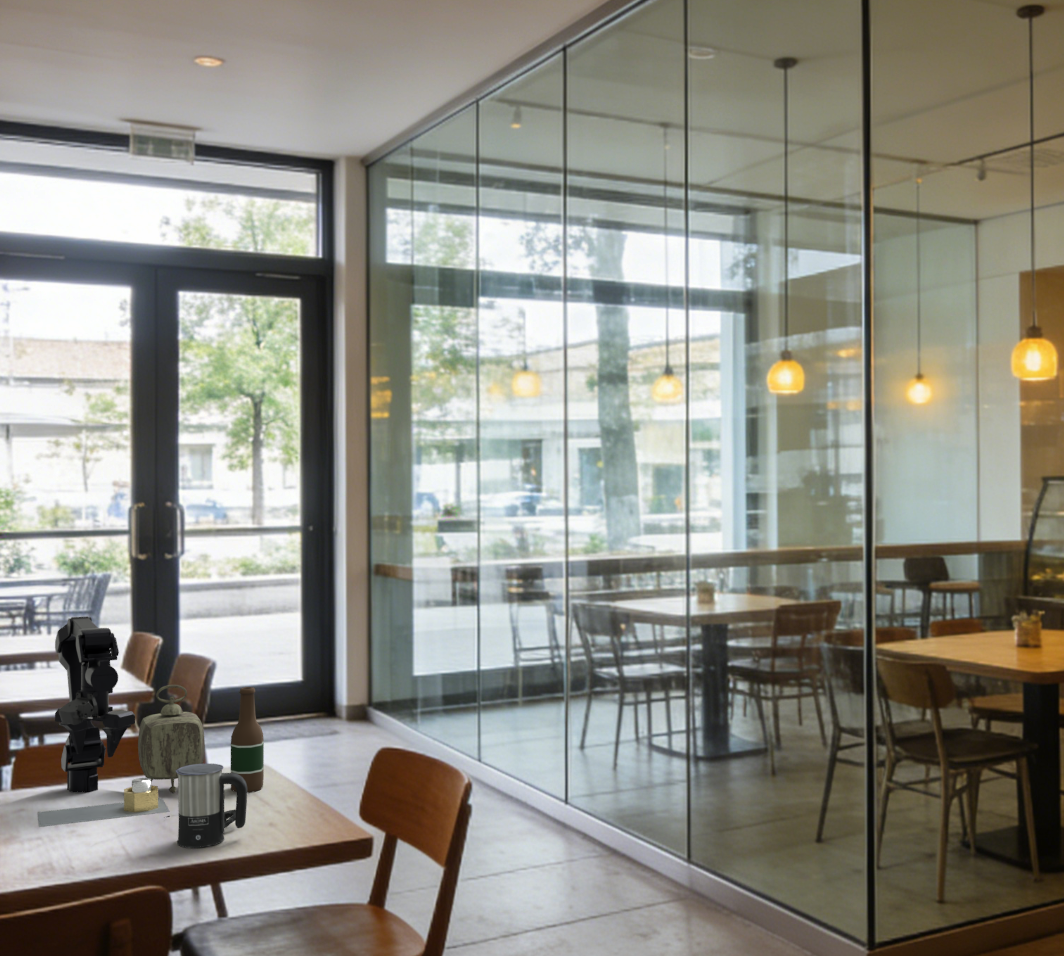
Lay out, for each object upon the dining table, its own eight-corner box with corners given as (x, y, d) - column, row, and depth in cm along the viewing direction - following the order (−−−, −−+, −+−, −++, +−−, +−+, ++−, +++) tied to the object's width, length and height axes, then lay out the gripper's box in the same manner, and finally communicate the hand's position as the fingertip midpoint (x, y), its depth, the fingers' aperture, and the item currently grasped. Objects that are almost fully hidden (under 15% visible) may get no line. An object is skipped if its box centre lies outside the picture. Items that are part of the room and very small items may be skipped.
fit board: (39, 832, 232) (39, 797, 233) (37, 817, 243) (37, 784, 243) (169, 817, 244) (169, 783, 244) (162, 803, 254) (162, 771, 255)
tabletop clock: (200, 783, 272) (201, 680, 273) (205, 792, 264) (206, 685, 264) (137, 789, 266) (138, 684, 267) (141, 799, 258) (141, 690, 259)
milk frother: (180, 851, 220) (180, 775, 220) (166, 830, 234) (167, 759, 234) (252, 841, 227) (253, 767, 227) (235, 821, 241) (235, 752, 241)
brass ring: (117, 809, 245) (117, 791, 245) (140, 801, 251) (140, 783, 252) (141, 813, 242) (141, 794, 242) (164, 805, 249) (164, 787, 249)
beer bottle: (270, 786, 270) (270, 686, 270) (252, 794, 262) (252, 691, 263) (242, 783, 272) (242, 684, 272) (223, 791, 265) (223, 689, 265)
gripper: (35, 687, 247) (34, 758, 247) (98, 694, 239) (98, 767, 239) (74, 680, 257) (74, 748, 257) (137, 685, 249) (136, 756, 249)
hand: (94, 755), depth 250 cm, fingers open, 9 cm apart
